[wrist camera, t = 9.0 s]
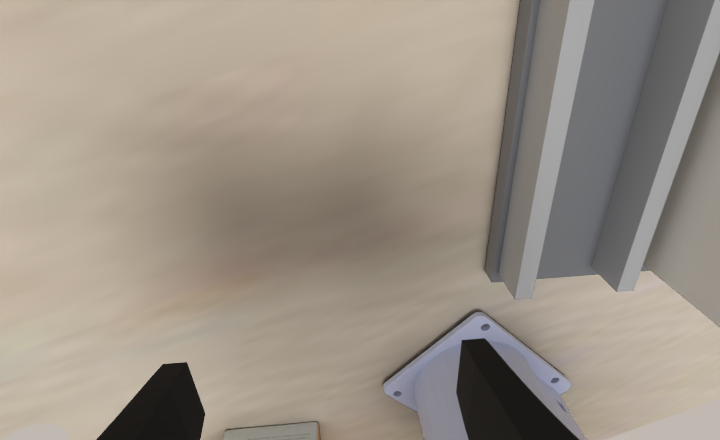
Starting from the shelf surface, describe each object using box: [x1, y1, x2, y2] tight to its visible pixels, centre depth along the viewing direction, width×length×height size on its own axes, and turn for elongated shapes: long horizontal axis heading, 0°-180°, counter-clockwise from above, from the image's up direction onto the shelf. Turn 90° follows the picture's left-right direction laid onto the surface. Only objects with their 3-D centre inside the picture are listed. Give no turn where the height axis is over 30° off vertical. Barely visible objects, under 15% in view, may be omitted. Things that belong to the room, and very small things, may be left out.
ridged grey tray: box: [485, 0, 720, 300], centre depth 16 cm, size 15×11×3 cm
